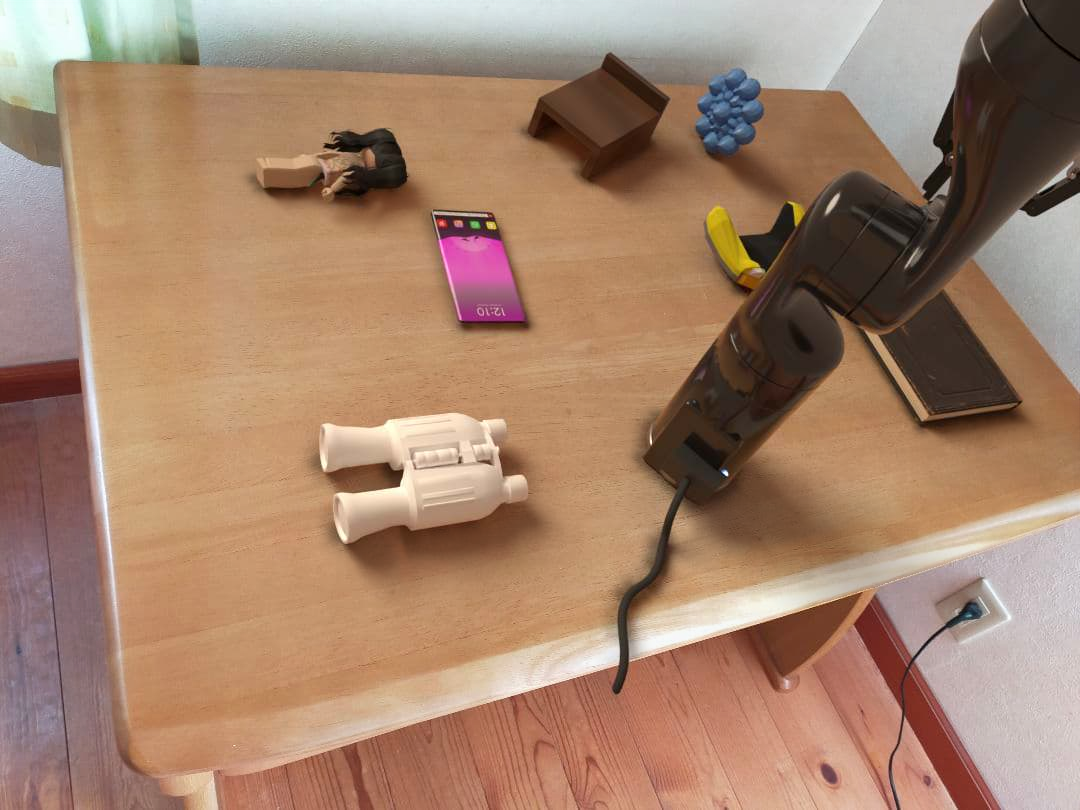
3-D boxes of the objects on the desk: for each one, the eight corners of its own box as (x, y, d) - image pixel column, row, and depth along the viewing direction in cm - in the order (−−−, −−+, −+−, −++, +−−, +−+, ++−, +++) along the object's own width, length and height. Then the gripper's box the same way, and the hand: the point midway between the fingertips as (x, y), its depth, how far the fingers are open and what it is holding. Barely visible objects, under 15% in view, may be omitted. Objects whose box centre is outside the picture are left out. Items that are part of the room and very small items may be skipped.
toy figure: (280, 223, 87) (415, 195, 95) (279, 170, 83) (421, 145, 90) (253, 180, 91) (385, 157, 98) (250, 127, 86) (389, 107, 93)
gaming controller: (685, 235, 106) (724, 298, 102) (706, 201, 102) (747, 265, 97) (778, 228, 113) (818, 286, 109) (801, 196, 109) (844, 255, 104)
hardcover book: (918, 425, 99) (931, 414, 98) (822, 273, 110) (832, 260, 109) (1012, 410, 106) (1026, 400, 105) (913, 268, 117) (924, 256, 116)
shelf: (587, 180, 106) (608, 134, 101) (526, 131, 108) (544, 83, 103) (648, 142, 115) (670, 98, 109) (591, 97, 117) (610, 51, 111)
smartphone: (492, 218, 97) (494, 212, 96) (526, 324, 89) (529, 318, 89) (428, 215, 94) (430, 209, 93) (458, 325, 86) (460, 319, 86)
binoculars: (313, 442, 74) (320, 411, 70) (488, 422, 81) (502, 393, 77) (339, 554, 69) (347, 527, 66) (524, 523, 76) (540, 496, 72)
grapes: (751, 180, 117) (800, 106, 108) (710, 179, 114) (756, 103, 105) (715, 121, 123) (758, 46, 114) (675, 120, 120) (716, 42, 111)
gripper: (1009, 1, 64) (870, 179, 77) (1179, 118, 62) (1005, 281, 75) (1037, -20, 69) (901, 151, 82) (1195, 87, 66) (1029, 247, 79)
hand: (951, 212), depth 78 cm, fingers closed on vaping device, 4 cm apart
